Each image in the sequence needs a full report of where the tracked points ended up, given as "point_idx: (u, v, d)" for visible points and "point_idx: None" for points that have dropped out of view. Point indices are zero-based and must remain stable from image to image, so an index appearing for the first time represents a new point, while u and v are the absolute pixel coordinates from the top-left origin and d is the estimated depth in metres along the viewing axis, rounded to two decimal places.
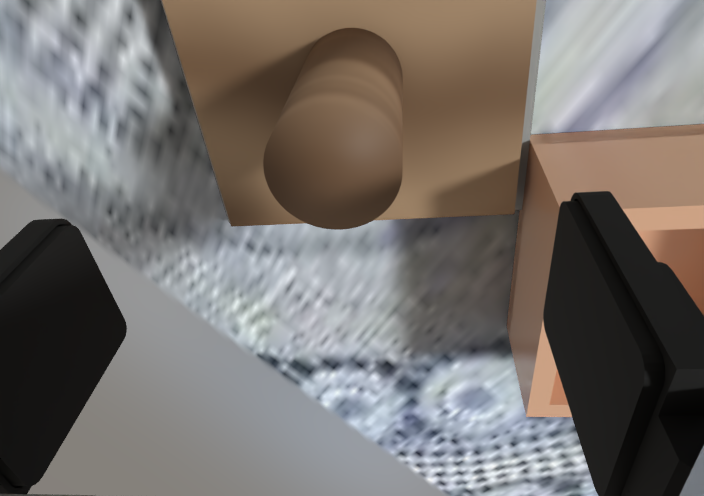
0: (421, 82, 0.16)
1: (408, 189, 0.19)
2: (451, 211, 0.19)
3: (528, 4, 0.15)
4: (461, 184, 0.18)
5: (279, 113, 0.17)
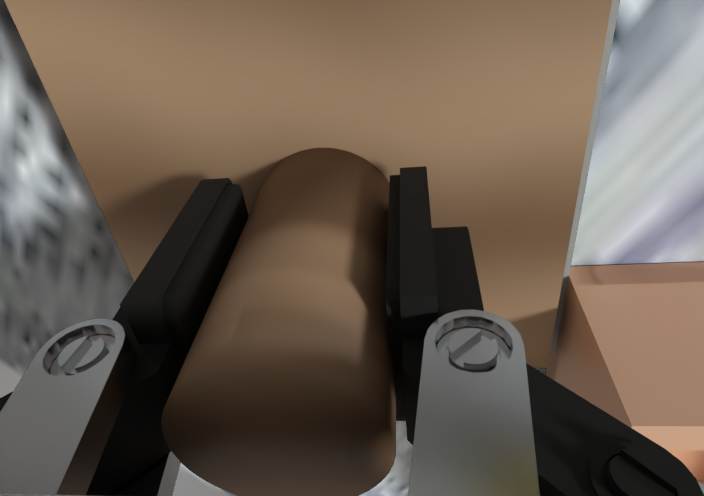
0: None
1: None
2: None
3: (579, 122, 0.10)
4: None
5: None
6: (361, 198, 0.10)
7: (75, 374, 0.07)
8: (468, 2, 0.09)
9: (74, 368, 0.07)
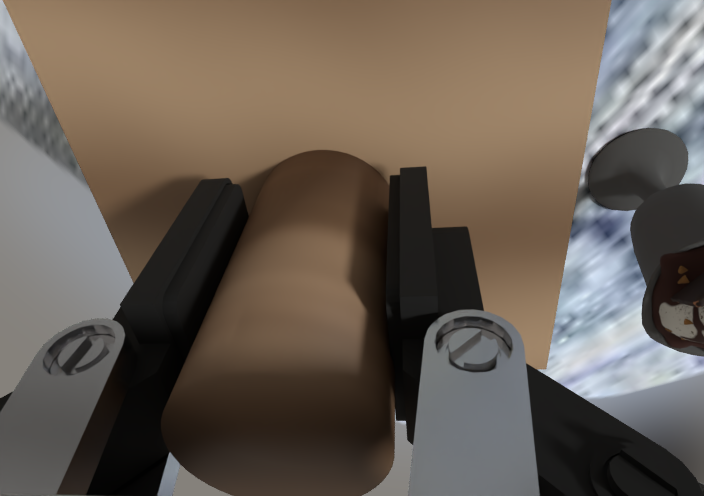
0: None
1: None
2: None
3: (578, 125, 0.10)
4: None
5: None
6: (360, 200, 0.10)
7: (75, 374, 0.07)
8: (467, 5, 0.09)
9: (74, 368, 0.07)
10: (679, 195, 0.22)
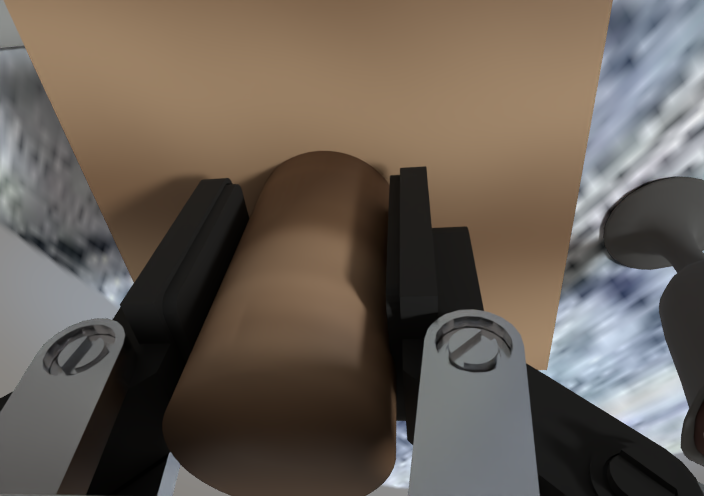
0: None
1: None
2: None
3: (579, 125, 0.10)
4: None
5: None
6: (361, 201, 0.10)
7: (75, 374, 0.07)
8: (469, 6, 0.09)
9: (74, 368, 0.07)
10: None
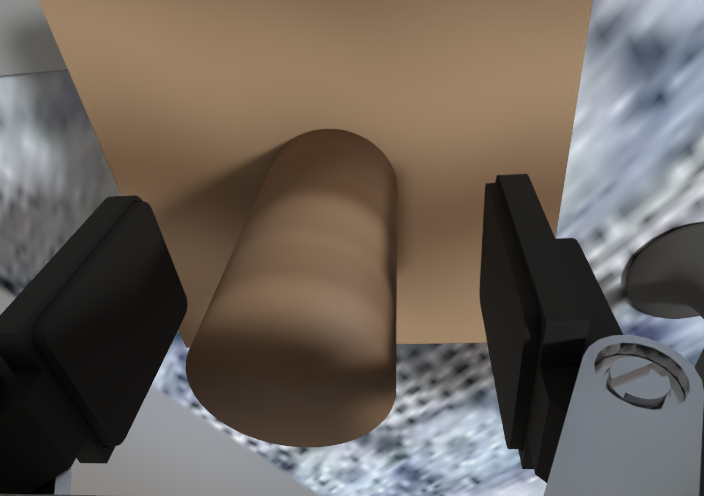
0: (422, 194, 0.12)
1: (405, 312, 0.15)
2: (459, 337, 0.15)
3: (566, 104, 0.11)
4: (472, 308, 0.15)
5: (239, 226, 0.13)
6: (364, 173, 0.10)
7: None
8: None
9: None
10: None
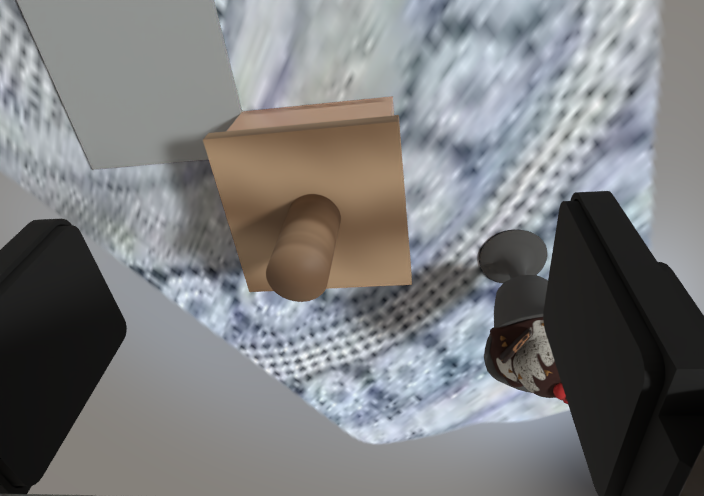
0: (351, 218, 0.31)
1: (349, 271, 0.33)
2: (375, 283, 0.33)
3: (399, 184, 0.29)
4: (379, 268, 0.33)
5: (276, 233, 0.32)
6: (323, 211, 0.29)
7: None
8: (356, 148, 0.28)
9: None
10: (517, 284, 0.32)
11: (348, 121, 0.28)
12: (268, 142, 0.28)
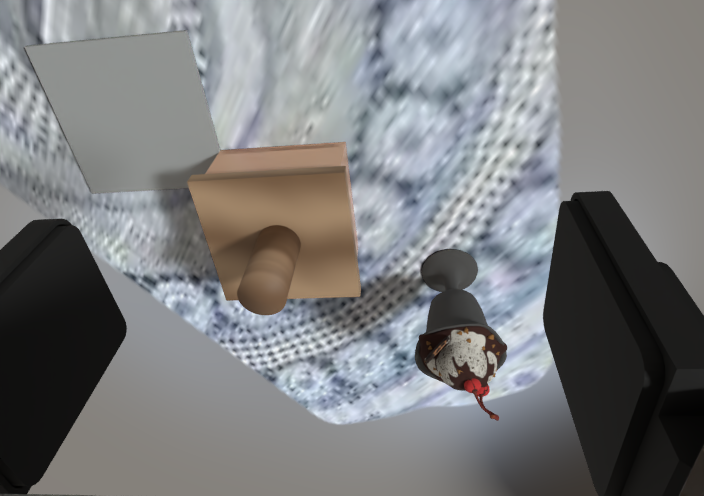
0: (308, 244, 0.38)
1: (309, 285, 0.40)
2: (330, 295, 0.40)
3: (347, 219, 0.36)
4: (333, 284, 0.40)
5: (248, 254, 0.39)
6: (285, 241, 0.36)
7: None
8: (311, 191, 0.35)
9: None
10: (446, 297, 0.40)
11: (305, 169, 0.35)
12: (240, 185, 0.35)
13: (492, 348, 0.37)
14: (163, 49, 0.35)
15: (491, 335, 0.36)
